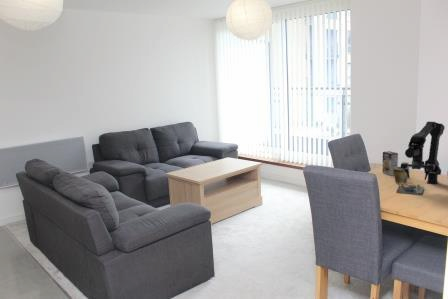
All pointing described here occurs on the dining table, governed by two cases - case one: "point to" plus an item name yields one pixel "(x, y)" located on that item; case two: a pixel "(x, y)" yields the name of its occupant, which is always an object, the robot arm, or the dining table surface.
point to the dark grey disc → (408, 185)
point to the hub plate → (417, 190)
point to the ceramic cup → (399, 174)
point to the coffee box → (389, 162)
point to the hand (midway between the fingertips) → (417, 179)
